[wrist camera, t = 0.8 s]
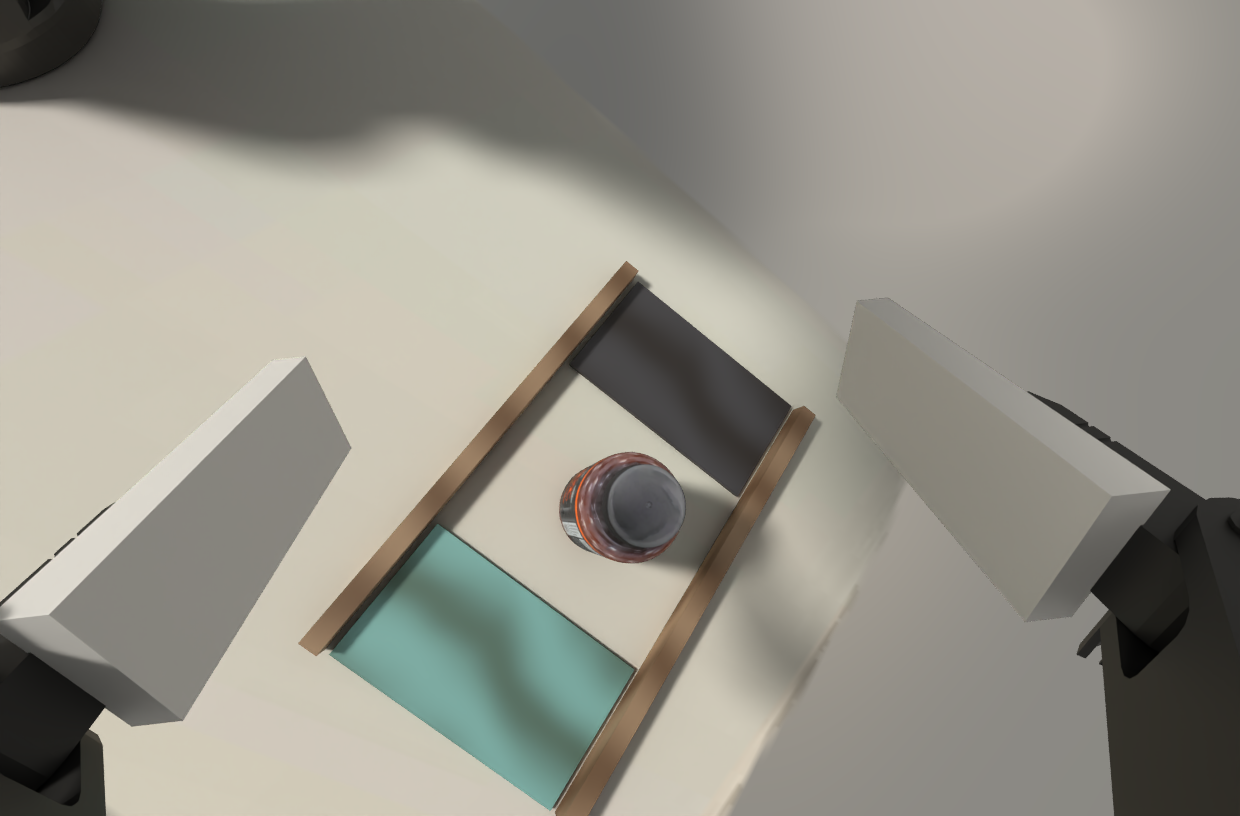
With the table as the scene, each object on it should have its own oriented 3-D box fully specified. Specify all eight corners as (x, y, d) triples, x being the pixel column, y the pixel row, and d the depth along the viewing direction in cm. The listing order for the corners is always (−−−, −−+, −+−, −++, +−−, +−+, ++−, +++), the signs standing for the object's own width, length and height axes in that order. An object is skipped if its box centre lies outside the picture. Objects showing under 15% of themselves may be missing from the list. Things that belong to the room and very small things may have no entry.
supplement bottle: (592, 449, 34) (637, 417, 24) (655, 500, 35) (728, 492, 24) (538, 517, 33) (562, 516, 22) (606, 571, 33) (663, 595, 22)
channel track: (570, 823, 29) (574, 838, 28) (307, 637, 28) (298, 643, 26) (804, 418, 40) (815, 415, 38) (621, 270, 38) (626, 260, 37)
